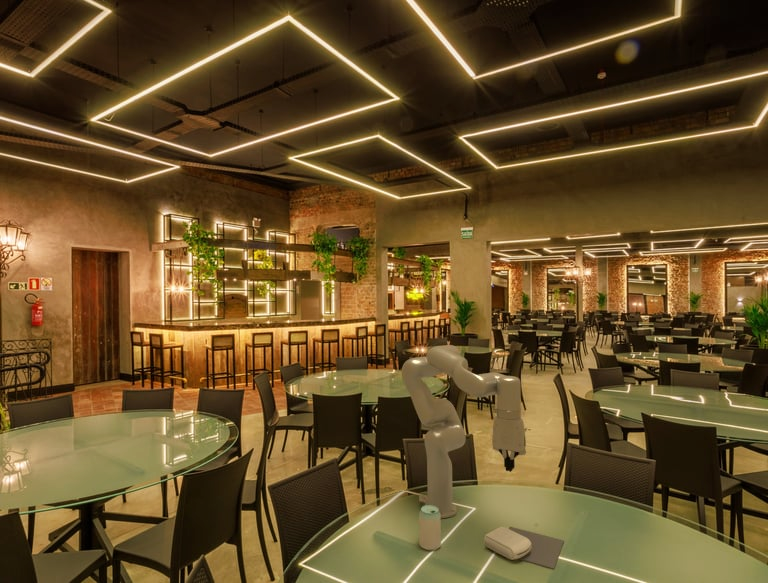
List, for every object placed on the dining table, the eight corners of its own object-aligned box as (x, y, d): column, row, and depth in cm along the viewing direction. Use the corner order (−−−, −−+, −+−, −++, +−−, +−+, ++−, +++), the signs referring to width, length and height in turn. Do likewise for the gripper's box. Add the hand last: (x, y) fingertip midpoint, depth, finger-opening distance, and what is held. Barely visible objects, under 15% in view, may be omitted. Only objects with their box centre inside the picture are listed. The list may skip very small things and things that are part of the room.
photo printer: (503, 524, 148) (535, 539, 138) (503, 536, 148) (535, 553, 138) (483, 533, 142) (515, 550, 132) (483, 547, 141) (515, 565, 131)
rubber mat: (494, 552, 139) (494, 551, 139) (509, 527, 154) (509, 526, 154) (554, 569, 130) (554, 568, 130) (563, 541, 145) (563, 540, 145)
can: (442, 542, 145) (442, 505, 146) (438, 553, 139) (438, 515, 139) (422, 538, 148) (422, 502, 148) (417, 549, 141) (416, 512, 141)
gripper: (483, 413, 144) (483, 469, 144) (529, 419, 137) (530, 478, 136) (490, 408, 151) (490, 462, 150) (534, 414, 143) (535, 470, 143)
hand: (509, 469), depth 143 cm, fingers closed
